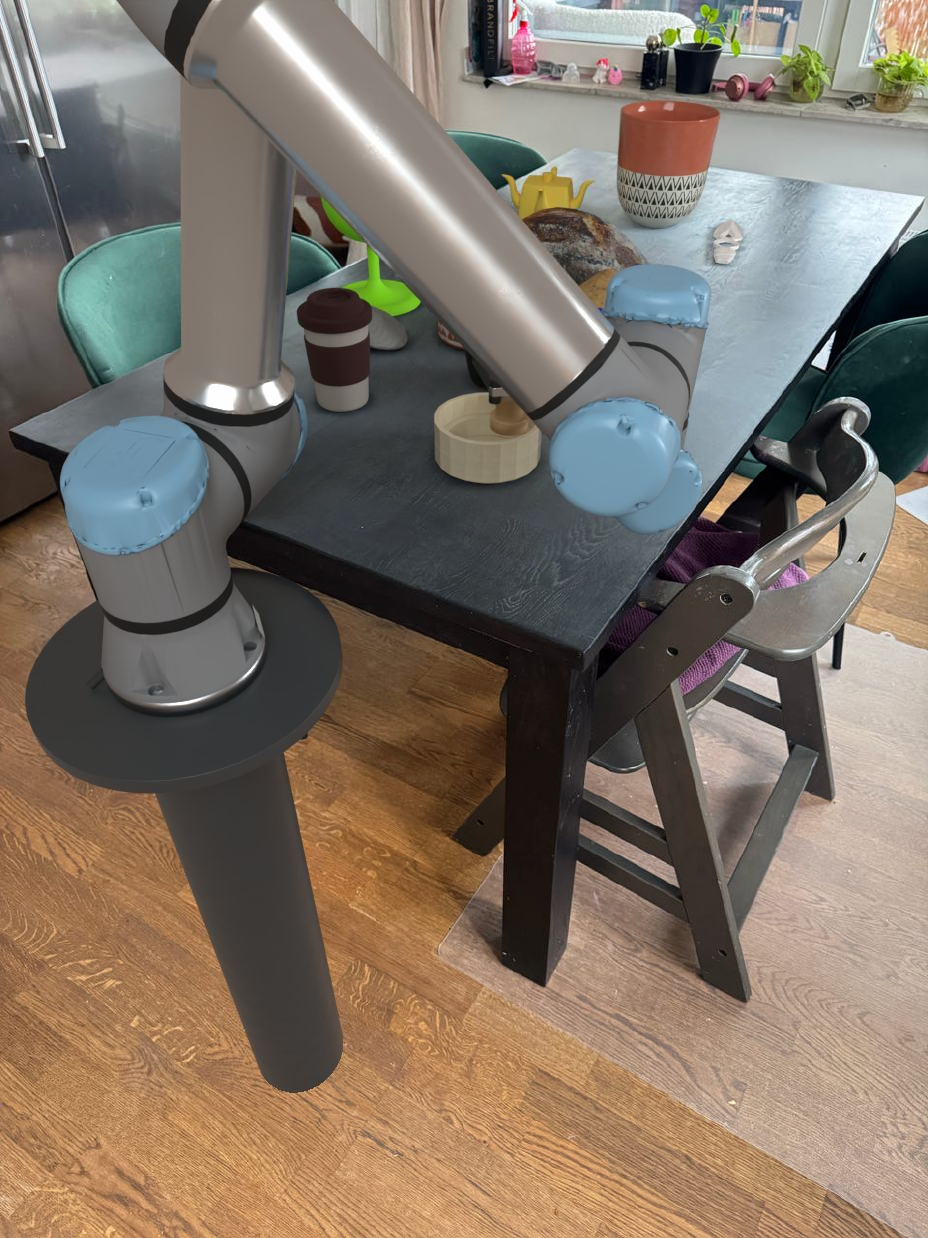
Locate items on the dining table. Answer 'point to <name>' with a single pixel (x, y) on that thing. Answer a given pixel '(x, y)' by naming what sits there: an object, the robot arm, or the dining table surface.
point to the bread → (583, 242)
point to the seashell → (386, 331)
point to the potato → (598, 286)
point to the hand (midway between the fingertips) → (494, 317)
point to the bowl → (481, 443)
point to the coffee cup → (337, 346)
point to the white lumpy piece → (723, 252)
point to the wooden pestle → (508, 418)
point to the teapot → (545, 193)
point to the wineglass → (375, 277)
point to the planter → (664, 159)
